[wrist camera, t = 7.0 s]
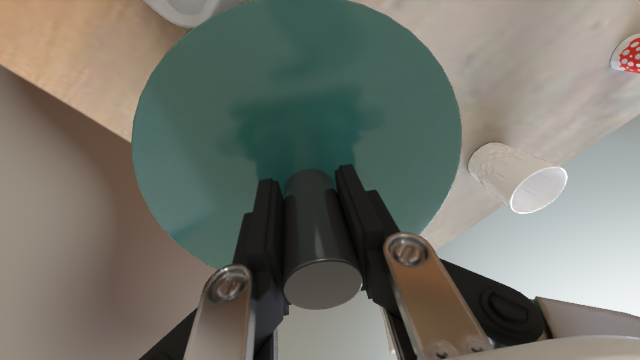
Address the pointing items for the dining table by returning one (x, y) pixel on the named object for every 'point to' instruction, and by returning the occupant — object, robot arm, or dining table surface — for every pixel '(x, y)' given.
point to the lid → (295, 133)
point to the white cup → (517, 177)
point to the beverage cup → (627, 55)
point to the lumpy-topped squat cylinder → (190, 10)
